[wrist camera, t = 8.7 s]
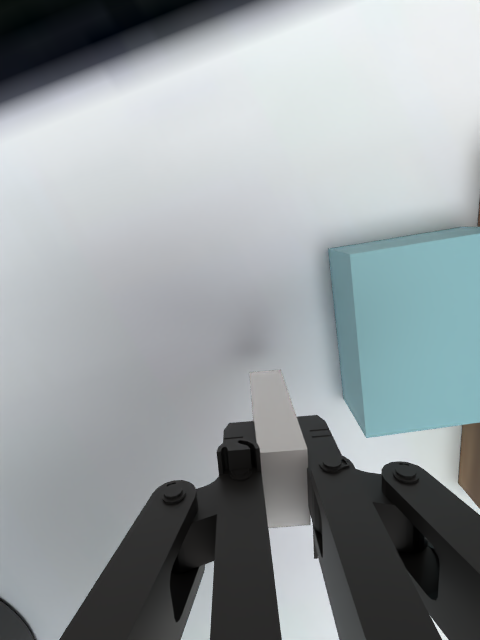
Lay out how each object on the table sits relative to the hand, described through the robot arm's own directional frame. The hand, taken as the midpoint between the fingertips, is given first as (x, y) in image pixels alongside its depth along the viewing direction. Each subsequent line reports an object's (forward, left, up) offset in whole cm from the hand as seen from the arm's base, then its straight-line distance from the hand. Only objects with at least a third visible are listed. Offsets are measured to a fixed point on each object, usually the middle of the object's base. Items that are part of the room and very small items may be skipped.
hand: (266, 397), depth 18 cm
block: (+9, +2, -7) cm, 11 cm away
